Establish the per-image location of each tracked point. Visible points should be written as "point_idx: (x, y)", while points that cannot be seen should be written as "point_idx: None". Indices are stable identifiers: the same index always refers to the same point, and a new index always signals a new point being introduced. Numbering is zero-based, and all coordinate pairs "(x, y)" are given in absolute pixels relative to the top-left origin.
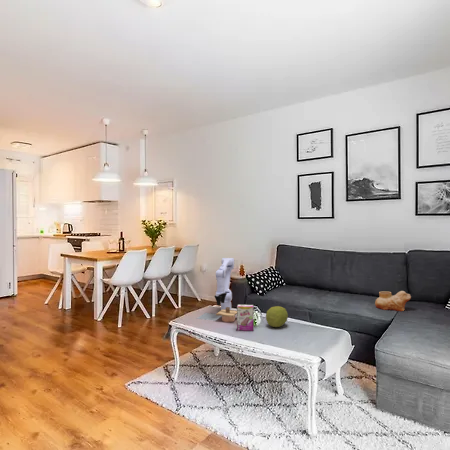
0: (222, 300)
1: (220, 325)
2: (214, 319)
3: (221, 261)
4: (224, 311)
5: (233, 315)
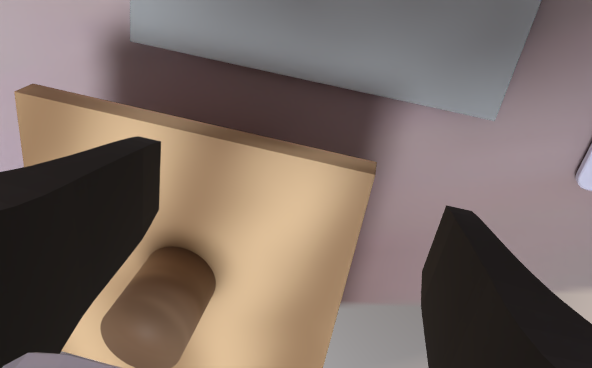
0: (442, 288)
1: (4, 138)
2: (187, 2)
3: None
4: (213, 223)
5: (71, 349)
